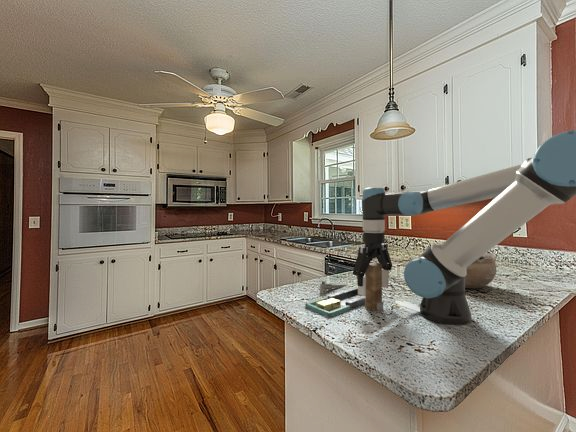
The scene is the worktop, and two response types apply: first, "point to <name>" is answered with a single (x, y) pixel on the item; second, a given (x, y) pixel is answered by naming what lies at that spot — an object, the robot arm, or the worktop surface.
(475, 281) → the ceramic bowl
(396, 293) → the worktop surface
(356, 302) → the grey shallow bin
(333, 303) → the chip
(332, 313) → the tray
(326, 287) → the caliper
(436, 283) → the robot arm
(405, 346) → the worktop surface
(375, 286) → the brown long block
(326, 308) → the tan block
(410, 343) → the worktop surface
